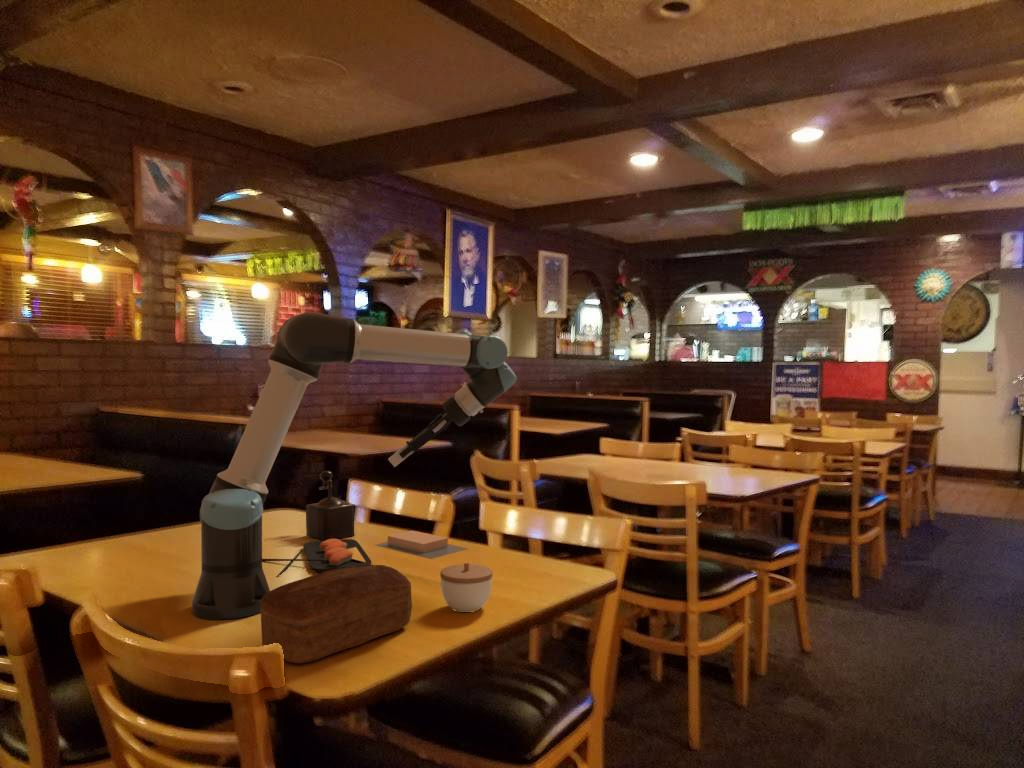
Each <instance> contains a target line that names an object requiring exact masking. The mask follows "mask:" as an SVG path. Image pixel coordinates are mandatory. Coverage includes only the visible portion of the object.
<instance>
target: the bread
mask: <svg viewBox="0 0 1024 768" xmlns="http://www.w3.org/2000/svg"><path fill="white" fill-rule="evenodd" d="M412 599H413V598H412V583H411V582H410V580H409V579H408V578H407V576H405V575H404V574H403V573H401V572H400V571H399V570H397V568H393V567H391V566H388V565H385V564H384V565H383V564H371V565H369V564H366V565H361V566H351V567H345V568H339V569H333V570H328V571H327V570H324V571H323V572H320V573H317V574H314V575H310V576H308V577H305V578H301V579H298V580H295V581H291V582H288V583H285V584H282V585H281V586H278V587H276V588H274V589H272V590H270V592H268V593H266V594H265V595H264V596H263V598H262V599H261V602H260V623H261V627H260V628H261V642H262V643H261V644H262V645H269V644H273V643H279V644H280V645H281V646H282V649H283V654H284V660H283V661H285V662H287V663H288V662H289V663H292V664H306V663H310V662H313V661H317V660H320V659H323V658H325V657H327V656H330V655H332V654H335V653H339V652H341V651H343V650H346V649H349V648H354V647H357V646H359V645H360V646H361V645H362V644H364V643H367V642H370V641H372V640H374V639H377V638H379V637H381V636H385V635H388V634H392V633H395V632H397V631H399V630H401V629H402V628H404V627H405V626H407V625H408V623H409V622H410V621H411V617H412V616H411V615H412V607H413V604H412V603H413V600H412ZM262 645H261V646H262Z"/></svg>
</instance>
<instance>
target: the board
mask: <svg viewBox="0 0 1024 768" xmlns="http://www.w3.org/2000/svg"><path fill="white" fill-rule="evenodd" d="M375 546H376V547H381V548H385V549H389V550H393V551H398V552H401V553H405V554H409V555H413V556H418V557H422V558H426V559H430V560H433V559H436V558H440V557H443V556H446V555H447V556H448V555H451V554H455V553H458V552H459V553H460V552H461V551H462V552H463V551H465V550H468V549H469V548H468V547H463V546H459V545H455V544H449V543H448V547H446V548H442V549H438V550H434V551H430V552H426V553H420V552H416V551H412V550H408V549H403V548H399V547H395V546H391V545H388V541H385V542H381V543H377V544H375Z"/></svg>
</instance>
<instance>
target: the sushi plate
mask: <svg viewBox="0 0 1024 768" xmlns="http://www.w3.org/2000/svg"><path fill="white" fill-rule="evenodd" d="M353 548H356V549H357V551H358V553H360V554H359V555H360V556H361V557H362V558H363V560H364V561H362V560H358V559H355V558H353V555H354V552H353V551H351V550H349V549H353ZM303 551H304V552H305V555H306V557H307V558H305V559H304V558H303V559H301V558H298V557H299V555H300V554H301V553H302V552H303ZM262 562H288V564H286V566H285V567H284V568H283V569H282V570H281V571H280V572H279V573H278V574H277V576H279V575H281V574H282V573H283V572H284V573H285V572H286V571H287V570H288V569H289V567H290V566H291V565H292V564H293V562H308V563H309V564H310V567H311V568H312V570H315V571H320V572H321V571H323V572H324V571H328V570H333V569H339V568H345V567H351V566H361V565H366V564H369V565H372V560H371V558H370V557H369V556H368V554H367V553H366V551H365V550H364V549H363V547H362V546H361V544H360V542H358V541H357V540H356V539H353V538H352V539H351V538H343V539H328V540H326V541H320V540H316V541H308V542H304V544H303V547H302V548H301V549H300V551H299V552H297V554H296V555H295V556H294V557H293V558H262ZM284 573H283V574H284ZM283 574H282V575H283ZM282 575H281V576H282ZM279 577H280V576H279Z"/></svg>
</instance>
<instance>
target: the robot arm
mask: <svg viewBox="0 0 1024 768" xmlns="http://www.w3.org/2000/svg"><path fill="white" fill-rule="evenodd" d="M508 353H509V351H508V345H507V344H506V342H505V341H504V340H503V338H501V337H499V336H496V335H489V334H488V335H476V334H473V333H471V332H470V331H469V330H468V328H467V327H466V328H465V327H464V328H463V327H462V328H460V329H458V330H456V331H454V333H453V332H448V331H447V332H446V331H445V332H444V331H437V330H436V331H433V330H426V329H424V330H423V329H413V328H412V329H411V328H404V327H403V328H402V327H401V328H400V327H391V326H382V325H372V324H371V325H370V324H362V323H361V324H360V323H358V321H356V319H354V318H349V317H348V318H347V317H340V316H333V315H329V314H326V313H322V312H315V311H306V312H303V313H300V314H297V315H293V316H291V317H289V318H288V319H287V320H286V321H284V322H283V323H282V324H281V325H280V327H279V330H278V332H277V335H276V341H275V344H274V346H273V348H272V351H271V353H270V355H269V357H268V359H267V362H268V365H269V366H270V372H269V373H268V377H267V380H266V381H265V384H264V386H263V388H262V390H261V393H260V395H259V397H258V398H257V399H258V400H257V402H256V404H255V406H254V408H253V411H252V413H251V416H250V418H249V420H248V422H247V425H246V427H245V430H244V431H243V434H242V435H241V438H240V440H239V442H238V445H237V447H236V449H235V451H234V454H233V456H232V458H231V461H230V463H229V465H228V467H227V469H225V470H223V471H220V472H218V473H217V474H216V476H215V479H214V482H213V484H212V485H211V488H210V491H209V493H208V494H207V495H205V496H204V497H203V499H202V500H201V506H200V508H199V521H200V530H201V531H200V532H201V534H200V535H201V539H200V540H201V553H200V554H201V560H200V561H201V570H200V571H201V573H200V576H199V580H198V582H197V585H196V588H195V590H194V591H195V592H194V594H193V597H192V601H191V613H192V614H193V615H194V616H196V617H198V618H201V619H207V620H231V619H240V618H245V617H250V616H254V615H257V614H259V613H260V614H261V612H260V602H261V599H262V598H263V596H264V595H265V594H266V593H268V592H270V591H271V589H270V587H269V584H268V581H267V578H266V575H265V572H264V569H263V561H262V559H263V514H264V507H263V506H264V503H265V501H266V500H267V497H268V494H269V489H268V487H267V485H266V482H267V479H268V477H269V474H270V472H271V471H272V468H273V465H274V463H275V461H276V458H277V456H278V454H279V451H280V450H281V447H282V444H283V443H284V440H285V438H286V436H287V433H288V431H289V428H290V426H291V424H292V422H293V419H294V417H295V415H296V412H297V410H298V408H299V406H300V403H301V401H302V398H303V396H304V395H305V392H306V390H307V387H308V385H309V384H311V383H314V382H317V381H318V379H319V376H320V375H321V372H322V369H323V367H324V366H325V364H332V363H335V364H336V363H345V364H352V363H353V362H354V361H356V360H366V361H367V360H369V361H380V362H394V363H395V362H397V363H409V364H423V365H436V366H437V365H438V366H451V367H460V369H461V370H462V372H464V374H466V375H467V377H468V378H469V379H470V381H469V382H468V383H466V384H464V386H462V387H461V388H459V389H458V390H457V391H456V392H455V393H454V395H452V396H450V397H449V398H447V399H446V400H445V401H444V402H442V407H443V411H444V412H445V413H444V414H442V413H439V414H438V415H437V416H436V417H435V419H433V420H432V421H431V422H430V423H429V424H428V426H427V427H425V428H424V429H422V431H420V432H419V433H418V434H417V435H416V436H414V437H413V438H412V439H410V440H406V441H405V443H406V444H404V445H403V446H402V447H401V448H399V449H398V450H397V451H396V452H394V453H393V454H391V456H390V457H388V458H387V460H388V461H389V463H390V464H391V465H392V466H393V468H395V467H398V465H399V464H401V463H402V462H404V461H405V460H406V459H407V458H408V457H409V456H411V455H413V454H414V453H415V452H419V451H420V449H421V448H423V446H424V445H426V444H428V443H429V442H430V441H431V440H432V439H434V438H435V437H438V436H439V435H441V433H442V432H445V431H447V430H448V429H449V428H450V427H451V424H450V423H452V422H453V423H455V425H456V426H458V427H462V426H463V425H465V424H466V423H468V421H470V420H471V416H472V417H474V416H476V415H477V414H479V413H480V414H482V413H484V410H483V409H484V408H486V407H487V406H489V404H491V403H492V402H493V401H495V400H497V398H499V397H500V396H502V395H503V394H504V393H506V392H507V391H508V390H509V389H510V388H511V387H512V386H513V385H514V384H515V383H516V382H517V379H518V377H517V375H516V374H515V372H514V370H513V369H512V368H511V367H510V366H509V365H508V363H507V362H506V360H507V358H508Z"/></svg>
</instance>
